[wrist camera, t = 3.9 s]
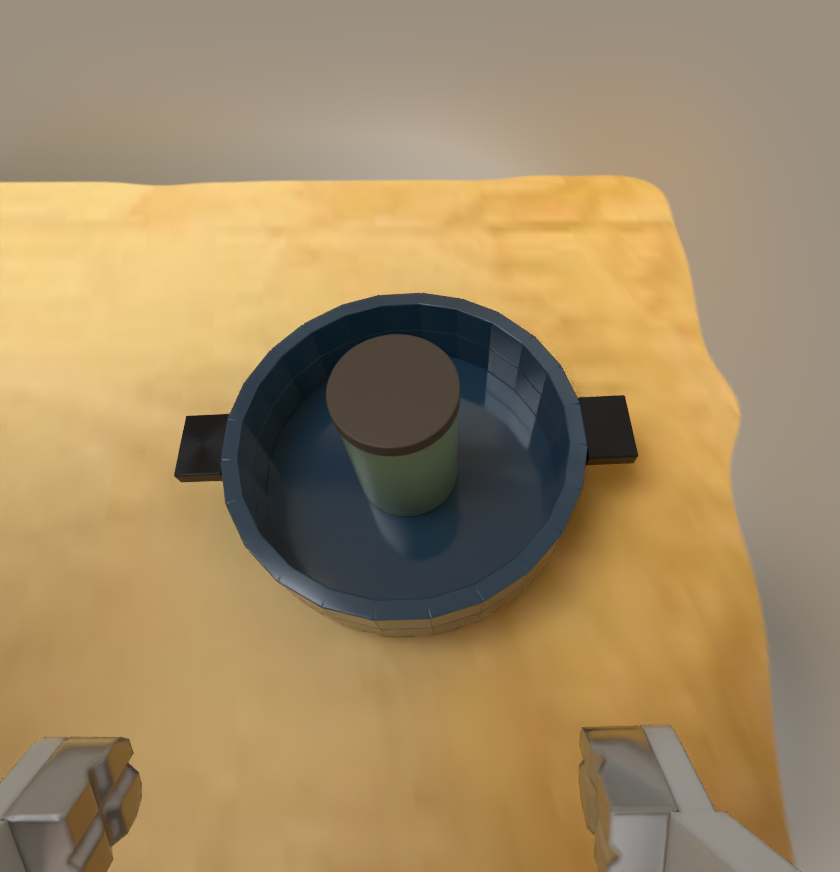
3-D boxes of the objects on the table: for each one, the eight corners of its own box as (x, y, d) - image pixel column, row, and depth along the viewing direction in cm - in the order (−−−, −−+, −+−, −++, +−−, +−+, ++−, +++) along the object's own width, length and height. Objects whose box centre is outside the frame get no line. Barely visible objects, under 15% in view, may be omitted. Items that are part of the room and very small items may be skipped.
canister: (355, 520, 28) (321, 451, 21) (359, 427, 31) (329, 336, 24) (462, 516, 28) (464, 445, 21) (457, 422, 30) (456, 330, 23)
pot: (233, 641, 26) (192, 626, 22) (270, 352, 34) (245, 302, 30) (592, 631, 25) (618, 613, 21) (547, 337, 33) (559, 284, 29)
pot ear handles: (181, 482, 26) (173, 476, 26) (192, 423, 28) (185, 415, 27) (633, 463, 25) (639, 456, 25) (620, 403, 27) (625, 394, 26)
